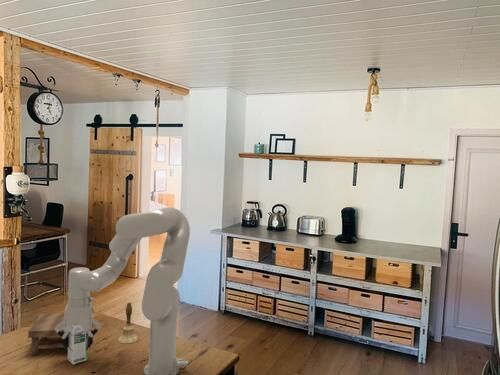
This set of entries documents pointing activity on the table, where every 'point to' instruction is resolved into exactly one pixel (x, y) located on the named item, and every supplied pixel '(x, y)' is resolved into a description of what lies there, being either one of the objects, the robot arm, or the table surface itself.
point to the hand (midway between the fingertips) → (77, 346)
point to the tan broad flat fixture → (45, 331)
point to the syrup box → (77, 345)
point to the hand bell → (128, 329)
